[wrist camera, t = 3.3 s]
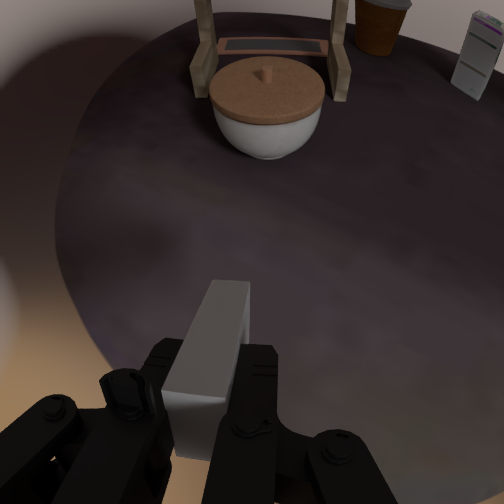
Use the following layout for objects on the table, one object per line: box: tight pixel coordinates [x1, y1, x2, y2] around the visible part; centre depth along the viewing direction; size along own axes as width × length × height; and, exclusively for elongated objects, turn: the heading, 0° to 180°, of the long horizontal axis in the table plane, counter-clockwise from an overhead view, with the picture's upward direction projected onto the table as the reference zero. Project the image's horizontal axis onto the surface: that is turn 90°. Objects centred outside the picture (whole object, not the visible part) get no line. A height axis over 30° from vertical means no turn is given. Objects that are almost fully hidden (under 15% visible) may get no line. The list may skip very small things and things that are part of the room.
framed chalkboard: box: [217, 37, 329, 57], centre depth 44 cm, size 18×6×1 cm, turn 86°
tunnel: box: [190, 0, 351, 102], centre depth 33 cm, size 19×10×14 cm, turn 86°
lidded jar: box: [209, 56, 325, 160], centre depth 30 cm, size 11×11×9 cm
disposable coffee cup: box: [355, 0, 412, 56], centre depth 39 cm, size 10×10×12 cm
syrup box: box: [450, 10, 504, 101], centre depth 33 cm, size 6×6×14 cm
